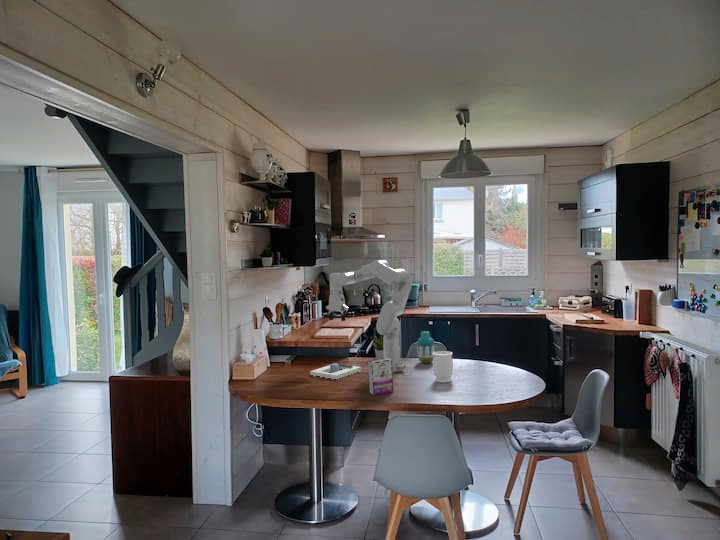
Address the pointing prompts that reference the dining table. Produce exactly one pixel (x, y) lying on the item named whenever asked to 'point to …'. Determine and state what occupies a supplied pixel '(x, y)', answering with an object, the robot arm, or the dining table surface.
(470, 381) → the dining table surface
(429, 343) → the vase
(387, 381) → the candy bar box
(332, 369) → the stacked blue discs
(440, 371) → the jar
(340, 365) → the dark gray bar handle
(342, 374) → the white frame with handle
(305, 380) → the dining table surface
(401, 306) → the robot arm
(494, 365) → the dining table surface
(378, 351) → the house plant
